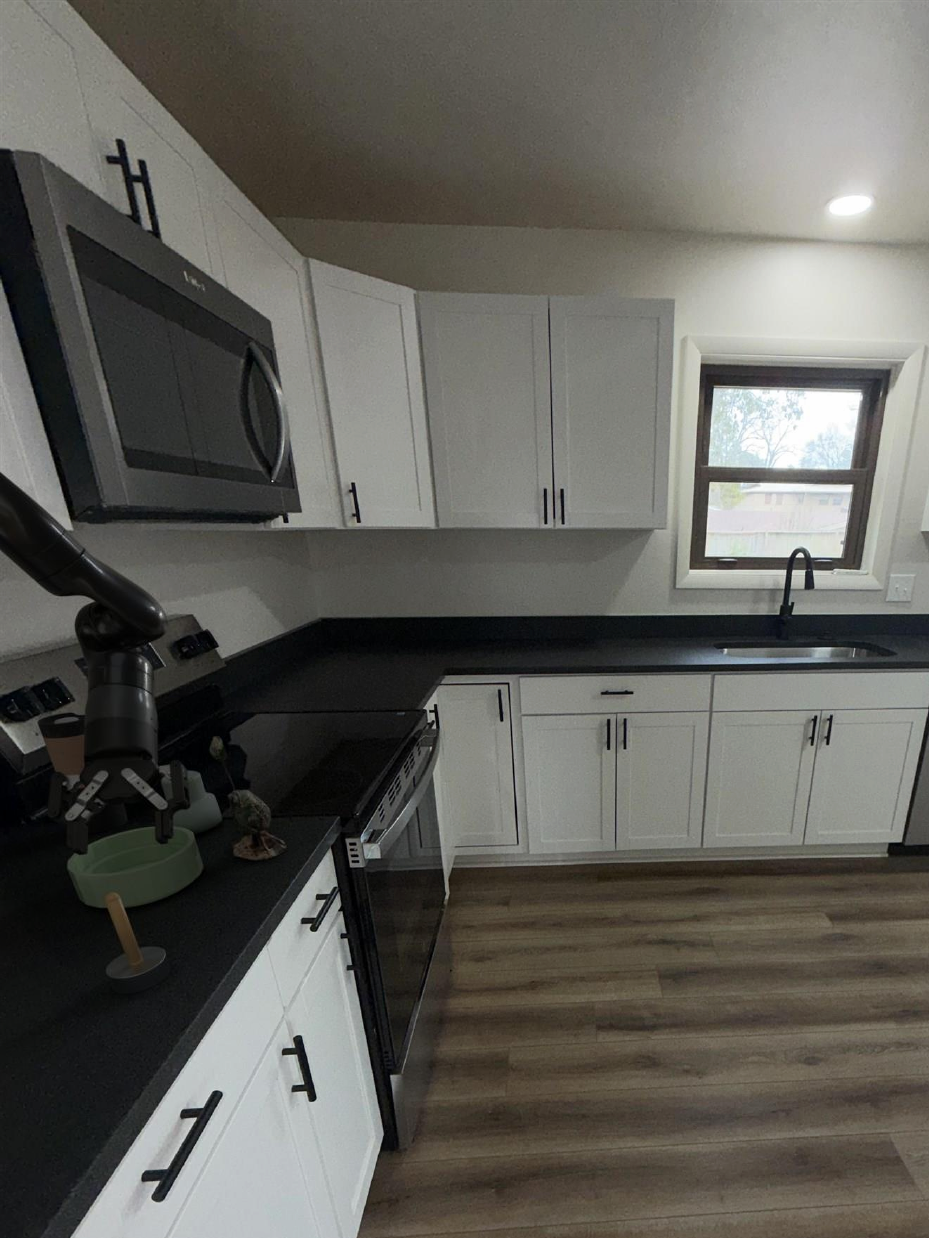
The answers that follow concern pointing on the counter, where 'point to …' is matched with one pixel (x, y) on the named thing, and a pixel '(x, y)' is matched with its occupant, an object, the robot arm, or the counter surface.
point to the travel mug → (76, 763)
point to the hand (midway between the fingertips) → (121, 847)
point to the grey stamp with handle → (133, 956)
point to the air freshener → (195, 806)
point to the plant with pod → (249, 818)
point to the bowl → (135, 867)
